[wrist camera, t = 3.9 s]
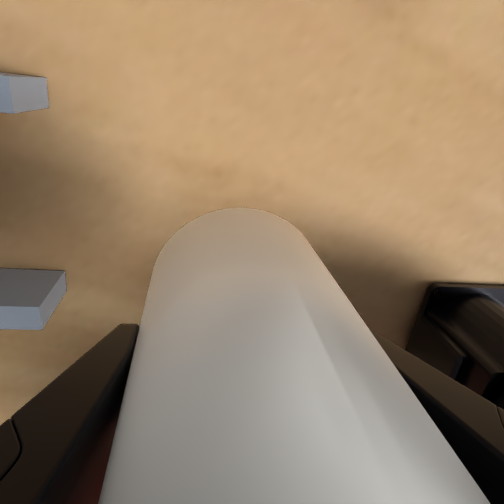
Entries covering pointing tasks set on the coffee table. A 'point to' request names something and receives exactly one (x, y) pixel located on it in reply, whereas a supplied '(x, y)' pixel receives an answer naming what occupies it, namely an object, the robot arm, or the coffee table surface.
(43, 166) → the coffee table surface
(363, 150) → the coffee table surface
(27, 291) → the bracket
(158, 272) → the roll
